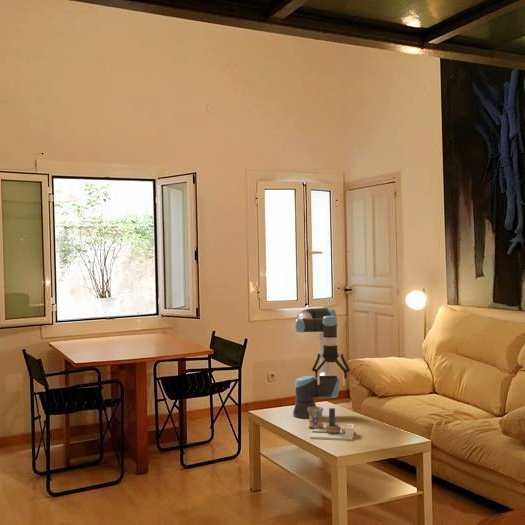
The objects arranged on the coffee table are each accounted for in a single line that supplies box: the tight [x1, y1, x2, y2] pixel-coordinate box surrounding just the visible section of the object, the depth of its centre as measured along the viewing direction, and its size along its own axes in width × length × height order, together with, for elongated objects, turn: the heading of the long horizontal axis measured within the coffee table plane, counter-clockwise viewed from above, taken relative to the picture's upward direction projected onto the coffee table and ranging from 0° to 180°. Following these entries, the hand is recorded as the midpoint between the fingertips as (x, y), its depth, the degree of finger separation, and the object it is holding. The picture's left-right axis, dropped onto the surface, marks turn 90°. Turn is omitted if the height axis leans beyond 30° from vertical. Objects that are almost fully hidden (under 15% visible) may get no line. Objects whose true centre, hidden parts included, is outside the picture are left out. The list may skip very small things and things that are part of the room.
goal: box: [344, 423, 355, 437], centre depth 328 cm, size 8×4×4 cm, turn 167°
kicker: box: [325, 407, 342, 433], centre depth 330 cm, size 5×7×12 cm
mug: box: [307, 406, 324, 429], centre depth 348 cm, size 12×9×11 cm
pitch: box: [309, 428, 356, 441], centre depth 329 cm, size 16×22×2 cm
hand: (331, 384), depth 331 cm, fingers open, 13 cm apart
